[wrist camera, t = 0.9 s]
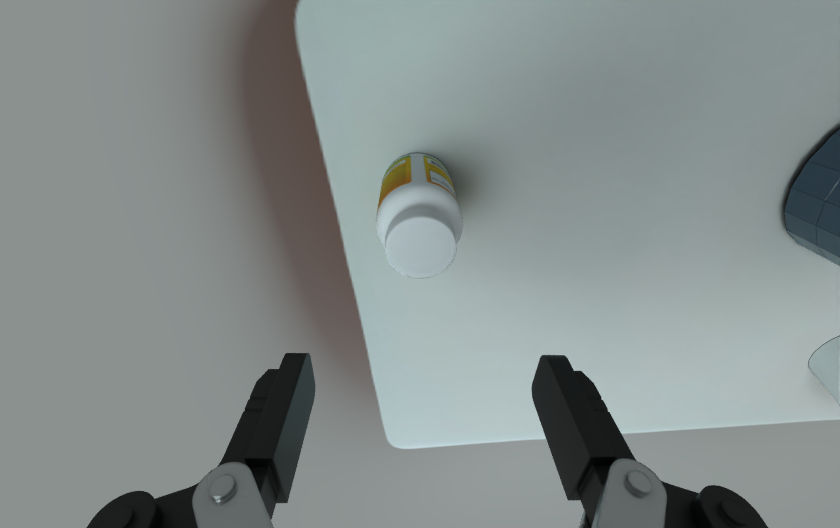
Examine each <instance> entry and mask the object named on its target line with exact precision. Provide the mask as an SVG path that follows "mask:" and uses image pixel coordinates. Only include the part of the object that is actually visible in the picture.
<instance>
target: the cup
mask: <svg viewBox="0 0 840 528" xmlns="http://www.w3.org/2000/svg"><path fill="white" fill-rule="evenodd" d="M808 363H809V368H810V370H811V371H812V372H813V373H814V375H815V376H816V377H817V378H818V380H819V381H820V382H821V383H822V384H823V386H824V387H825V388H826V389H827V391H828V392H829V393H830V394H831V395H832V397H833V398H834V399H835V400H836V402H837V403H838V404H839V405H840V336H839V337H836V338H834V339H832V340H830V341H829V342H827V343H826V344H824V345H822V346H821V347H820V348H819V349H818V350H816V351H815V352H814V354H813V355H812V356H811V358H810V360H809V362H808Z"/></svg>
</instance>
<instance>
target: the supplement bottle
mask: <svg viewBox="0 0 840 528" xmlns="http://www.w3.org/2000/svg"><path fill="white" fill-rule="evenodd" d="M462 226H463V221H462V215H461V210H460V207H459V204H458V201H457V197H456V194H455V190H454V187H453V184H452V181H451V178H450V175H449V173H448V171H447V170H446V168H445V167H444V165H443V164H442V163H441V162H440V161H438V160H437V159H435V158H434V157H432V156H429V155H426V154H420V153H414V154H408V155H405V156H403V157H401V158H399V159H397V160H396V161H394V162H393V163H392V164H391V165H390V166H389V168H388V169H387V171H386V173H385V175H384V177H383V181H382V186H381V192H380V198H379V204H378V210H377V217H376V229H377V234H378V237H379V239H380V241H381V243H382V245H383V246H384V248H385V253H386V257H387V259H388V261H389V263H390V264H391V266H392V267H393V268H394V269H395V270H396V271H398V272H399V273H401V274H403V275H405V276H408V277H411V278H420V279H421V278H429V277H433V276H435V275H438V274H440V273H441V272H443V271H444V270H445V269H447V268H448V267H449V266H450V264H451V263H452V261H453V260H454V257H455V254H456V250H457V243H458V241H459V239H460V236H461V233H462Z"/></svg>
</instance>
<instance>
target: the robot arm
mask: <svg viewBox="0 0 840 528" xmlns="http://www.w3.org/2000/svg"><path fill="white" fill-rule="evenodd" d="M314 396H315V380H314V374H313V368H312V363H311V357H310V354H309V353H286V354H285V356H284V358H283V360H282V363H281V365H280V368H279V369H268V370H267V371H266V372H265V374H264V375H263V376H262V377H261V378H260V379H259V380H258V381H257V382H256V384H255V387H254V389H253V391H252V393H251V396H250V399H249V400H248V402H247V405H246V407H245V411H244V412H243V414H242V416H241V418H240V420H239V423H238V425H237V428H236V430H235V432H234V434H233V437H232V439H231V441H230V443H229V446H228V448H227V450H226V452H225V454H224V457H223V459H222V461H221V462H220V464H219V465H218V466H217V467H216V468H214V469H213V470H211V471H210V472H209V473H208V474H207V475H206V476H205V477H204V478H203V479H202V480H201V481H200V482H199V483H198V484H196V485H194V486H192V487H189V488H187V489H183V490H181V491H177V492H175V493H171V494H168V495H165V496H162V497H159V498H156V499H154V498H153V496H152V495H150V494H149V493H147V492H144V491H134V492H130V493H126V494H124V495H122V496H120V497H118V498H116V499H114V500H113V501H111V502H110V503H108V504H107V505H106V506H105V507H104V508H102V509H101V510H100V511H99V512H98V513H97V514H96V516H95V517H94V518H93V519H92V520H91V522H90V523H89V525H88V527H87V528H274V527H273V525H272V522H271V519H272V515H273V512H274V508H275V504H276V503H287V502H288V498H289V494H290V490H291V487H292V482H293V479H294V475H295V471H296V467H297V464H298V460H299V456H300V452H301V448H302V444H303V440H304V436H305V433H306V428H307V425H308V421H309V417H310V413H311V410H312V406H313V402H314ZM532 397H533V402H534V405H535V408H536V410H537V413H538V416H539V419H540V422H541V425H542V428H543V430H544V433H545V436H546V439H547V442H548V445H549V448H550V450H551V453H552V456H553V459H554V462H555V465H556V467H557V470H558V473H559V476H560V479H561V482H562V485H563V487H564V490H565V493H566V496H567V499H568V500H581V502H582V505H583V508H584V510H585V511H584V513H583V515H582V518H581V522H580V525H579V528H768V527H767V525H766V524H765V522H764V521H763V520H762V518H761V517H760V515H759V514H758V513H757V511H756V510H755V509H754V508H753V507H752V506H751V505H750V504H749V503H748V502H747V501H746V500H745V499H743V498H742V497H741V496H739V495H738V494H736V493H735V492H733V491H731V490H729V489H727V488H724V487H721V486H715V485H712V486H707V487H705V488H704V489H703V490H702V491H701V492H700V493H696V492H693V491H690V490H686V489H683V488H680V487H677V486H674V485H670V484H668V483H665V482H663V481H661V480H660V479H659V478H658V477H657V476H656V474H655V473H654V472H653V471H651V470H650V469H649V468H648V467H646V466H645V465H643V464H642V463H640V462H638V461H636V459H635V458H634V456H633V455H632V453H631V451H630V449H629V447H628V445H627V444H626V442H625V440H624V438H623V436H622V434H621V433H620V431H619V429H618V427H617V425H616V423H615V422H614V420H613V418H612V416H611V414H610V412H608V410H607V407H606V405H605V403H604V401H603V400H601V396H600V394H599V392H598V390H597V389H596V387H595V385H594V383H593V382H592V381H591V380H590V379H589V378H588V377H587V376H586V375H585V374H584V373H583V372H582V371H574V370H573V368H572V366H571V364H570V362H569V360H568V359H567V357H566V356H564V355H542V356H541V358H540V360H539V364H538V367H537V370H536V373H535V377H534V380H533V383H532Z"/></svg>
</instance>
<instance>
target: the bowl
mask: <svg viewBox="0 0 840 528" xmlns="http://www.w3.org/2000/svg"><path fill="white" fill-rule="evenodd" d="M784 213H785V222H786V229H787V231H788V233H789V234H790V235H791V236H792V238H793V239H794V240H795V242H796V243H798V244H799V245H801V246H803V247H805V248H807V249H809V250H811V251H813V252H814V253H816V254H818V255H820V256H822V257H824V258H826V259H828V260H829V261H831V262H833V263H835V264H837V265H839V266H840V130H838V131H837V132H836V133H835V134H834V135H832V136H831V137H830V138H829V139H828V140H827V142H826V143H825V144H824V145H823V146H822V147H821V148H820V149H819V150H818V151H817V152H816V153H815V154H814V155H813V156H812V157H811V158H810V159H809V161H808V162H807V163H806V165H805V167H804V168H803V170H802V171H801V173H800V174H799V176H798V178H797V179H796V181H795V182H794V184H793V186H792V188H791V191H790V194H789V197H788V200H787V204H786V207H785V211H784Z"/></svg>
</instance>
